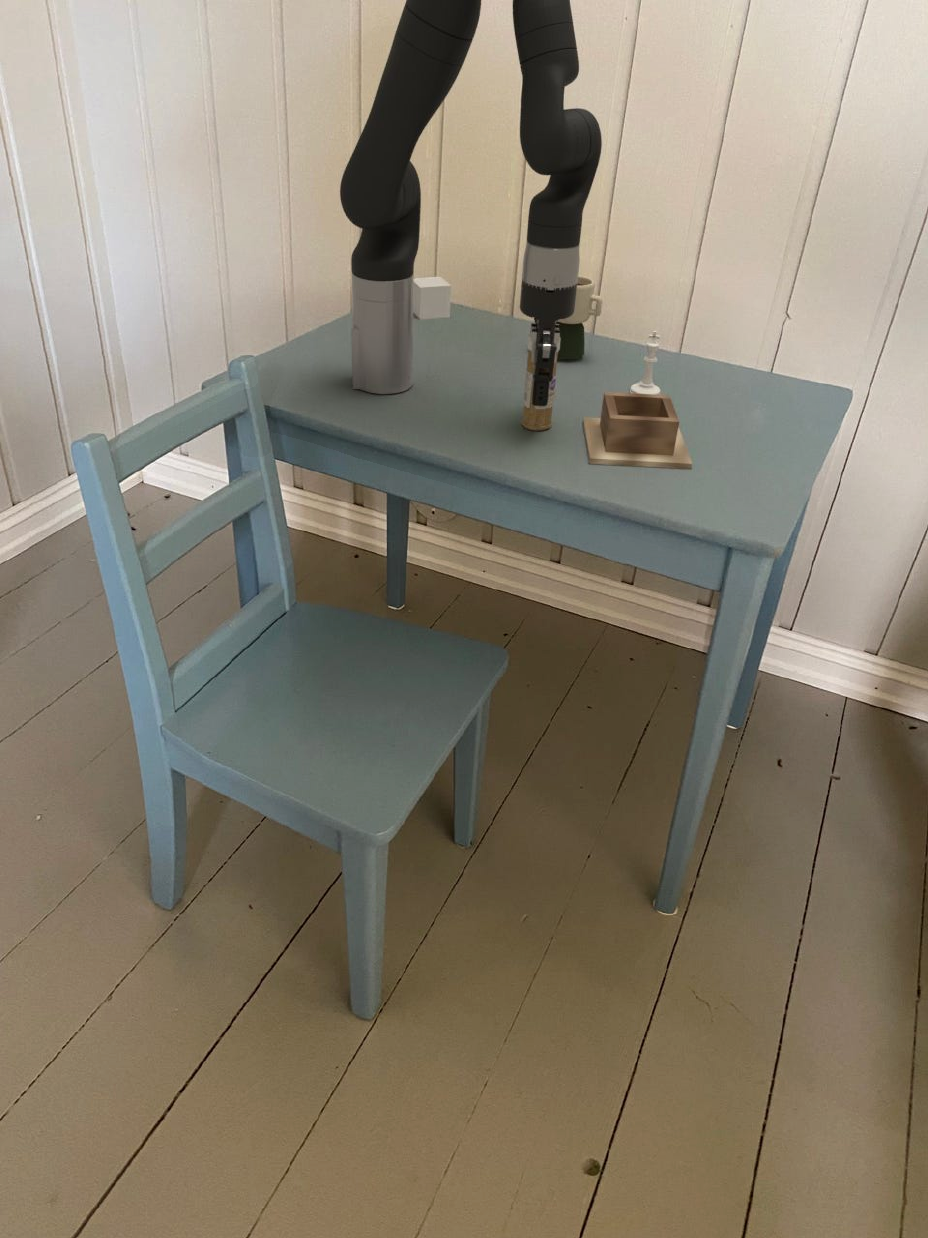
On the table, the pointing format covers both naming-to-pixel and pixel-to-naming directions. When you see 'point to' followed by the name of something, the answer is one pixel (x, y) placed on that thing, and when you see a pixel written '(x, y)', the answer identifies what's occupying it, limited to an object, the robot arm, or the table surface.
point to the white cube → (431, 298)
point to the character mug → (578, 319)
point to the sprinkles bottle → (532, 414)
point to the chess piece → (648, 370)
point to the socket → (636, 432)
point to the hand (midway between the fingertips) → (538, 397)
